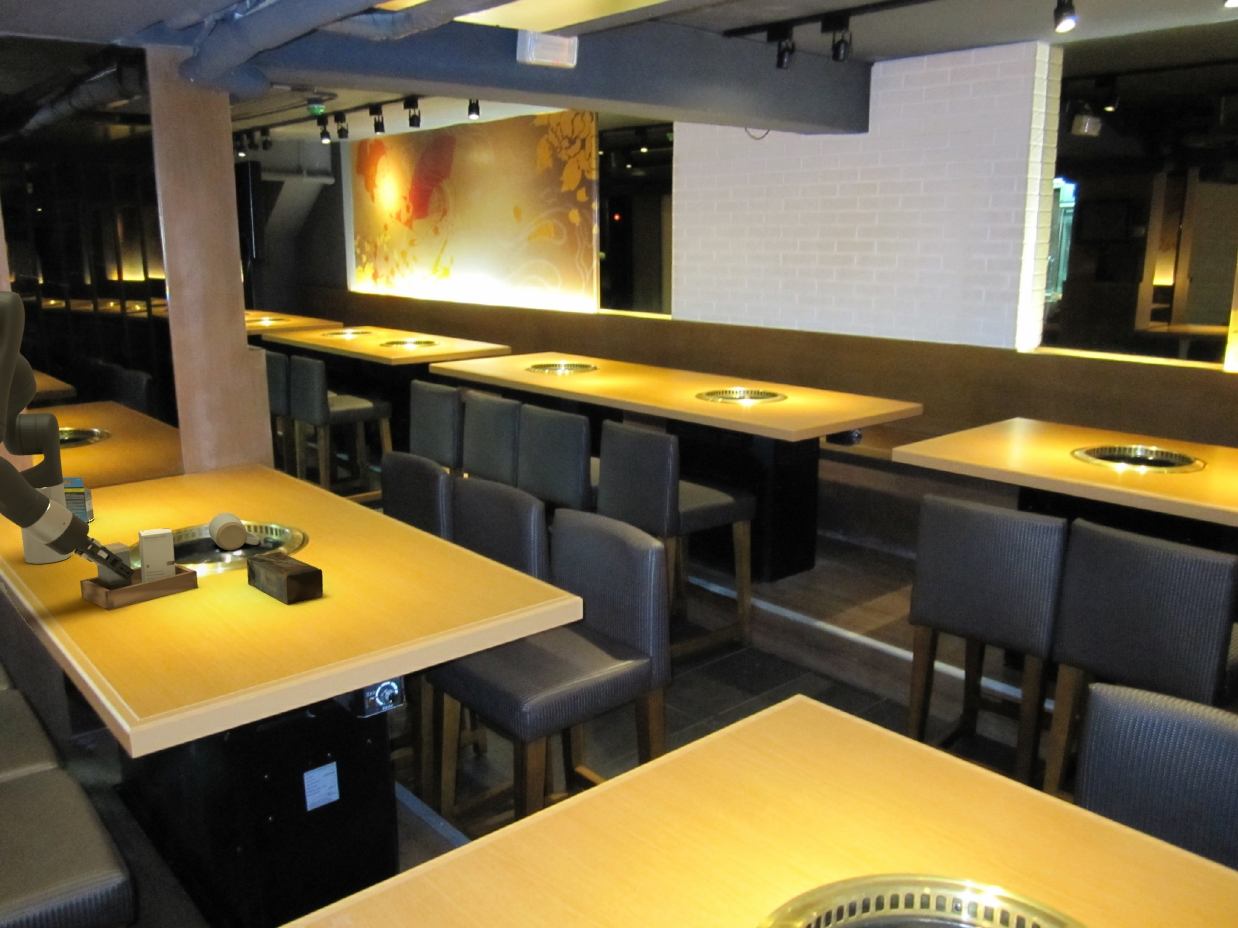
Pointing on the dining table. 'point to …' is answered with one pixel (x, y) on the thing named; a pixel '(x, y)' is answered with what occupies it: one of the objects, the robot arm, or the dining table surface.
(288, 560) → the beverage carton
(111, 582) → the tea tin
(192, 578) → the crate
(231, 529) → the ceramic mug
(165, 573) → the skincare box
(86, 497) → the label tape cartridge
